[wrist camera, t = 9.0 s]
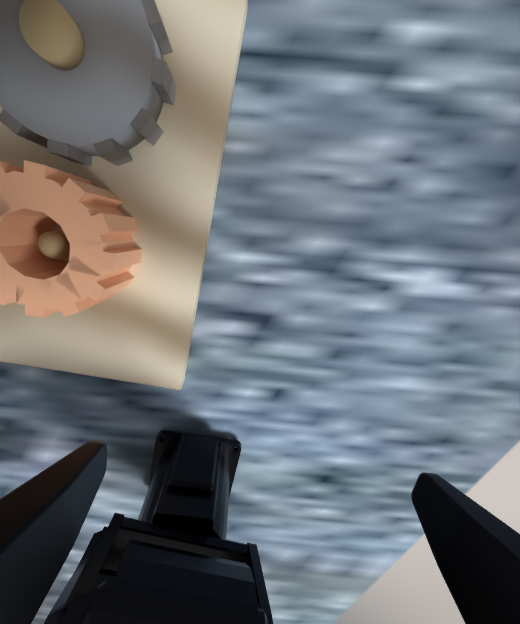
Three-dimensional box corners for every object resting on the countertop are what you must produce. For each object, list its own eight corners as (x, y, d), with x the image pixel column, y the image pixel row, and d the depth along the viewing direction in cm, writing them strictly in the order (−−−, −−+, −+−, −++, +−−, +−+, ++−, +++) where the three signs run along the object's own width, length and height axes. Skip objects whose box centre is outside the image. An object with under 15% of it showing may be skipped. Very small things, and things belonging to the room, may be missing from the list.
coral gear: (135, 309, 17) (107, 329, 13) (18, 286, 16) (-45, 301, 12) (148, 195, 15) (119, 183, 11) (15, 162, 14) (-59, 139, 11)
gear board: (184, 380, 20) (166, 426, 15) (-26, 346, 18) (-119, 385, 13) (247, 11, 14) (249, -101, 9) (-56, -93, 12) (-240, -294, 7)
